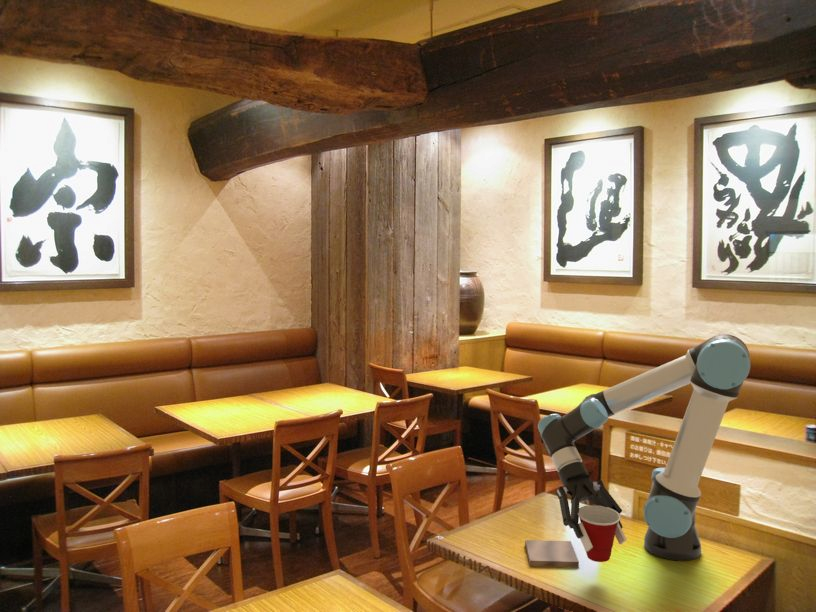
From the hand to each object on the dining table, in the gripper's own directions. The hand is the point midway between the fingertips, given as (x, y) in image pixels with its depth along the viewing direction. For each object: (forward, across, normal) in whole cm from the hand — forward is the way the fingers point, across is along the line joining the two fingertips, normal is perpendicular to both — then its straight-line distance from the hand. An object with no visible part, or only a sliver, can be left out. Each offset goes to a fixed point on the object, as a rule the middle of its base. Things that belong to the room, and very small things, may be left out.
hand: (606, 545), depth 172 cm
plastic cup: (+1, 0, -6) cm, 6 cm away
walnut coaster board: (-6, +4, -21) cm, 22 cm away
